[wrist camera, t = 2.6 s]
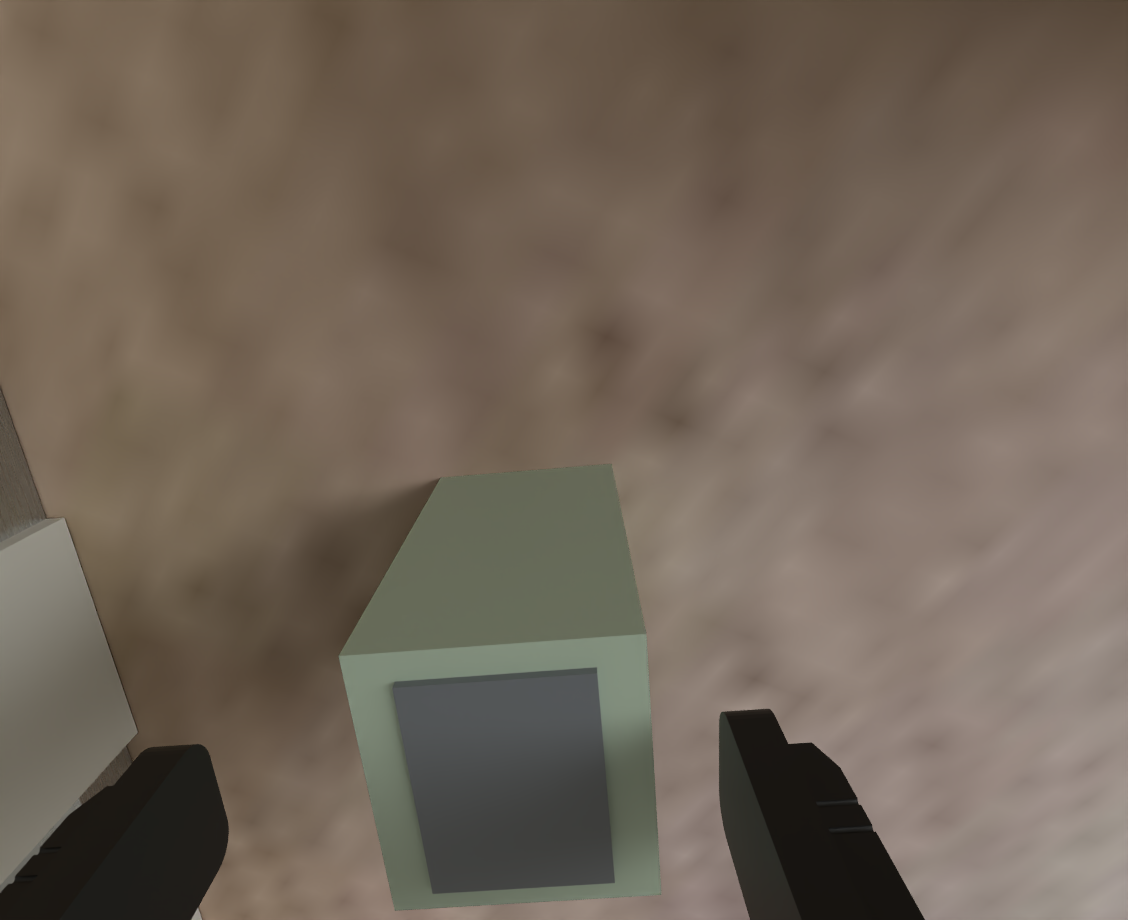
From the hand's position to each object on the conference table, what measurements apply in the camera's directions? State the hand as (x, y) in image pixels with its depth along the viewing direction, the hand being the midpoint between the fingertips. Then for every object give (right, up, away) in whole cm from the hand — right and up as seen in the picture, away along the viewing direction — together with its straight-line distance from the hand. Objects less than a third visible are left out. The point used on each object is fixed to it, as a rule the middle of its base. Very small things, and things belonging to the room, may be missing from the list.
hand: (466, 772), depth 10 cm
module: (+1, +2, +8) cm, 8 cm away
